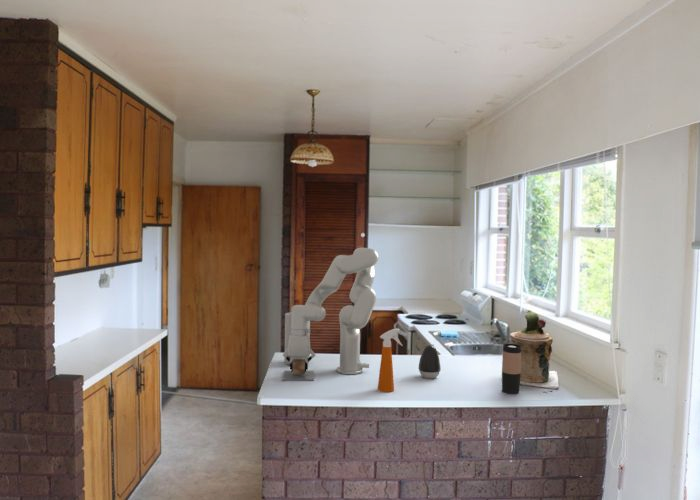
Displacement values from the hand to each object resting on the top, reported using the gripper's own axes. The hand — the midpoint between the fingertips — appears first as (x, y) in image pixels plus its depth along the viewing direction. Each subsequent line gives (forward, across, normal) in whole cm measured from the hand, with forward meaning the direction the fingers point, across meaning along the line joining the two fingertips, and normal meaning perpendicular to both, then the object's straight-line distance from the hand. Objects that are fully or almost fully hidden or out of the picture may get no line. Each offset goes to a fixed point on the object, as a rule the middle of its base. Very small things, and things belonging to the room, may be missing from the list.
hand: (298, 370), depth 238 cm
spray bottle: (+3, -40, +19) cm, 44 cm away
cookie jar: (+3, -108, +2) cm, 108 cm away
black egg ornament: (+3, -61, 0) cm, 61 cm away
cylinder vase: (+3, +2, -23) cm, 23 cm away
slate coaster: (+3, 0, 0) cm, 3 cm away
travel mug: (+3, -92, +21) cm, 94 cm away
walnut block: (+1, 0, 0) cm, 1 cm away
